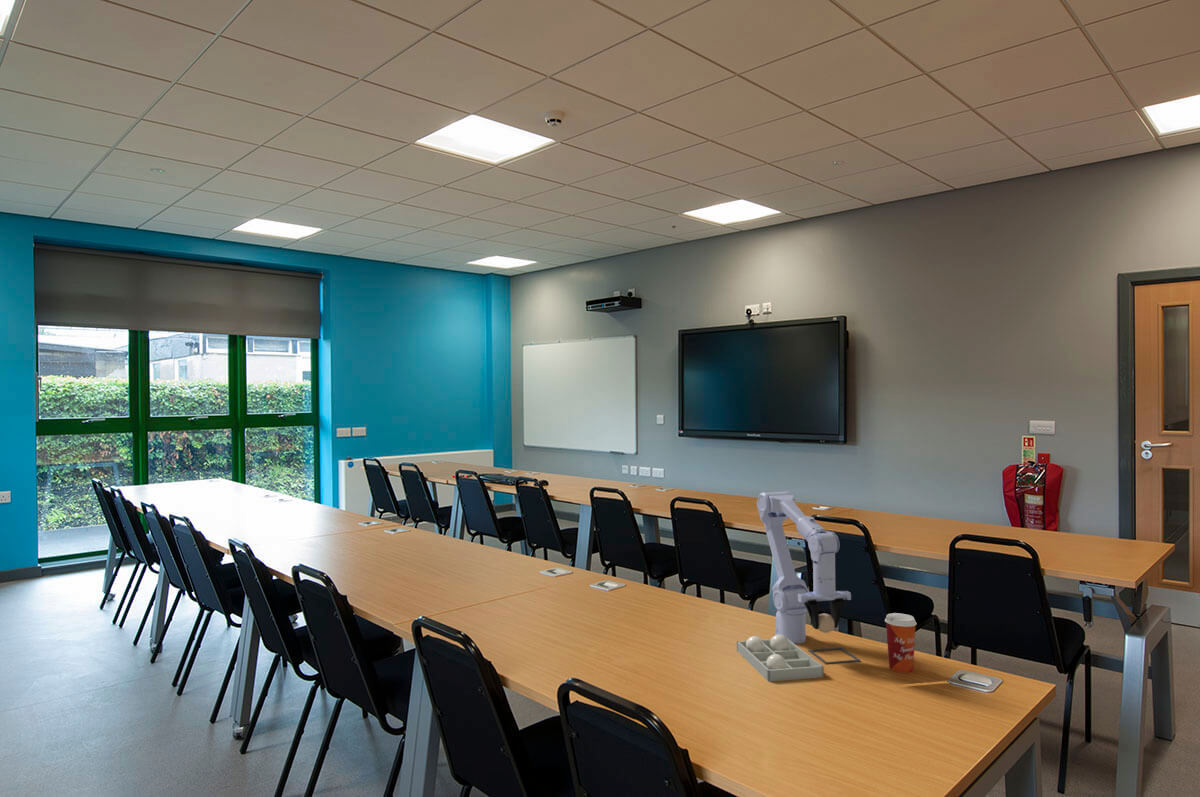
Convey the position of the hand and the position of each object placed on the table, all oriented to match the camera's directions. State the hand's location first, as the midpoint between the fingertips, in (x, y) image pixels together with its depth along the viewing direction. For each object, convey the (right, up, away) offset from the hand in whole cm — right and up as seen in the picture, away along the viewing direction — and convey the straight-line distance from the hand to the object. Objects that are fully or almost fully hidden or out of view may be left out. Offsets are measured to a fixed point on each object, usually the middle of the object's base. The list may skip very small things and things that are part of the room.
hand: (824, 627), depth 189 cm
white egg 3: (-16, -8, -11) cm, 21 cm away
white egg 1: (-18, -8, +3) cm, 20 cm away
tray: (-14, -9, -4) cm, 17 cm away
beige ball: (0, -1, 0) cm, 1 cm away
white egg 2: (-11, -8, +4) cm, 15 cm away
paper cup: (+17, -9, -8) cm, 21 cm away
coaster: (+3, -9, +1) cm, 9 cm away
